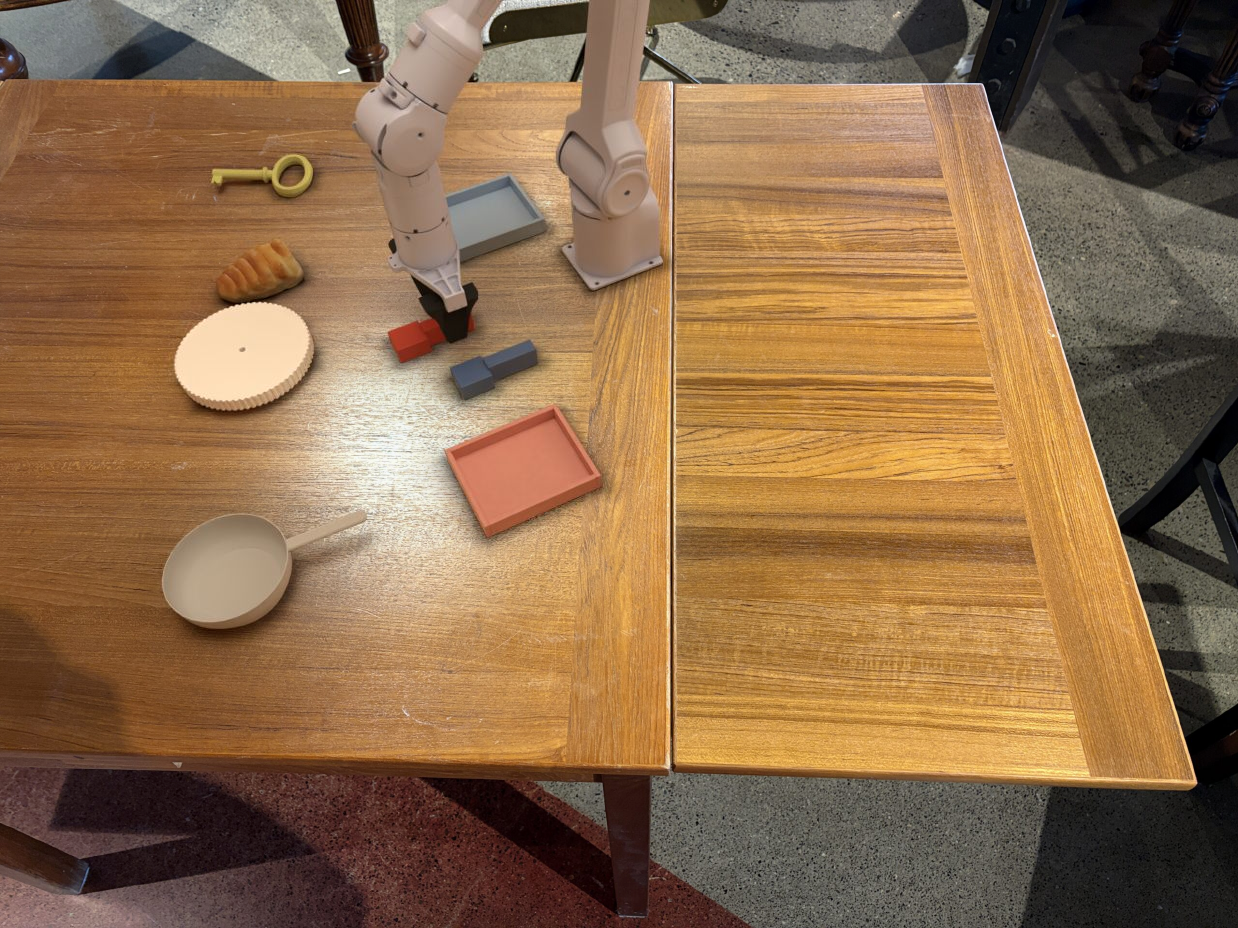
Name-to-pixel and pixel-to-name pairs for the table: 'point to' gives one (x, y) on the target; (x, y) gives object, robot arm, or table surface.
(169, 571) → the beige frying pan
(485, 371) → the stepped square rod
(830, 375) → the table surface
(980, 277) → the table surface
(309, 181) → the key
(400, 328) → the red stepped bar
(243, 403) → the cream gear wheel
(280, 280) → the pastry
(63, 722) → the table surface
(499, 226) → the blue tray
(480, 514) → the red tray
